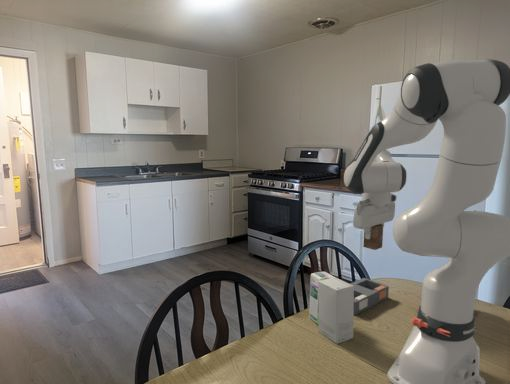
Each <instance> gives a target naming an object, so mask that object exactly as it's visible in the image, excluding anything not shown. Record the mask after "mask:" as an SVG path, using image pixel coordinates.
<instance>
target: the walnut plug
mask: <svg viewBox="0 0 510 384" xmlns="http://www.w3.org/2000/svg"><path fill="white" fill-rule="evenodd" d="M370 232H371V234H372V238H371V239H366V238H365V232H364V231H363V248H367V249H370V250H374V251H377V250H380V249H382V248H383V243H384V242H383V241H384V240H383V239H384V238H383V237H384V227H383V225H381V224H379V225H375V226H372V227H371V230H370Z"/></svg>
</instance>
